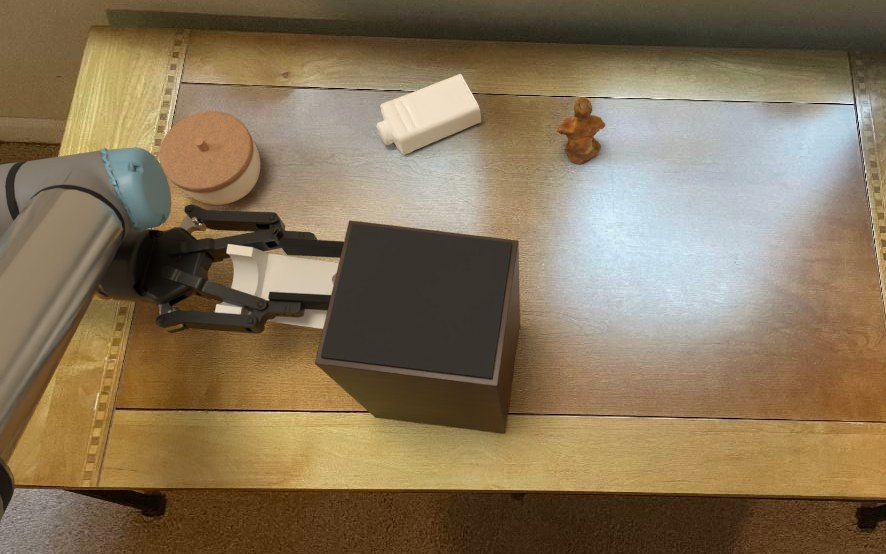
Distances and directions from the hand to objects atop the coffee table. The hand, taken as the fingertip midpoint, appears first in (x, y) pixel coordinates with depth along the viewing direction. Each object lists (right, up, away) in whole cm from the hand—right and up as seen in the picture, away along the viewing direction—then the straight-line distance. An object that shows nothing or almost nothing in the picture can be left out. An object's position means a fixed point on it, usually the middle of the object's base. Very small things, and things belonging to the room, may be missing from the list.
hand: (341, 276), depth 73 cm
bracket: (-5, -3, +5) cm, 8 cm away
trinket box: (-19, +12, +19) cm, 30 cm away
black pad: (+10, -2, -13) cm, 17 cm away
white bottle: (+6, +20, +22) cm, 31 cm away
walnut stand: (+10, -11, +10) cm, 18 cm away
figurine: (+25, +16, +21) cm, 37 cm away
